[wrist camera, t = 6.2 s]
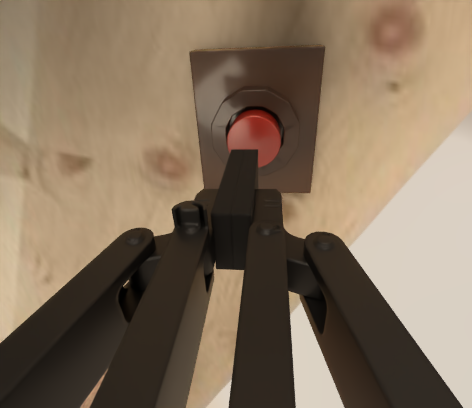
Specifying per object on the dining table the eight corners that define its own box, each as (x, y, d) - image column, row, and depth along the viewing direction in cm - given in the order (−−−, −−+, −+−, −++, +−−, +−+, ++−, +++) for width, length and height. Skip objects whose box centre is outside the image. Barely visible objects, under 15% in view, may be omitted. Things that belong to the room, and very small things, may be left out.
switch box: (195, 49, 24) (182, 53, 20) (321, 44, 23) (329, 47, 19) (208, 181, 30) (200, 201, 27) (308, 182, 29) (312, 203, 25)
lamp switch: (228, 109, 22) (225, 116, 21) (281, 108, 22) (282, 115, 20) (231, 158, 25) (228, 168, 23) (279, 158, 24) (279, 168, 22)
